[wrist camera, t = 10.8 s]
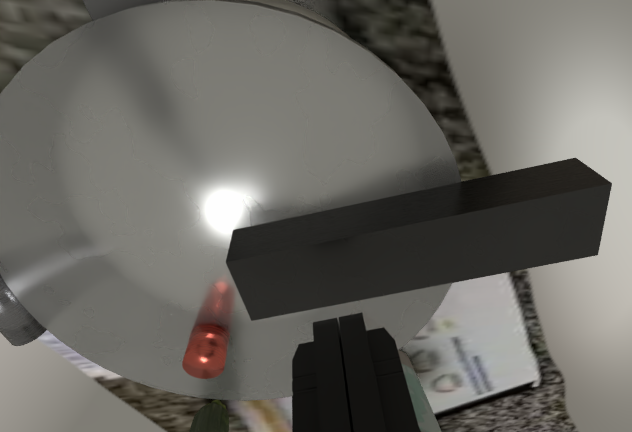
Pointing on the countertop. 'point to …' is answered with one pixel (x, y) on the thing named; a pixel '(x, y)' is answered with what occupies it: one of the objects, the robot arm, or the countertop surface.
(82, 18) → the countertop surface
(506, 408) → the countertop surface
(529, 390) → the countertop surface
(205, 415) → the vegetable
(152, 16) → the cooker lid
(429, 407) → the coffee cup
